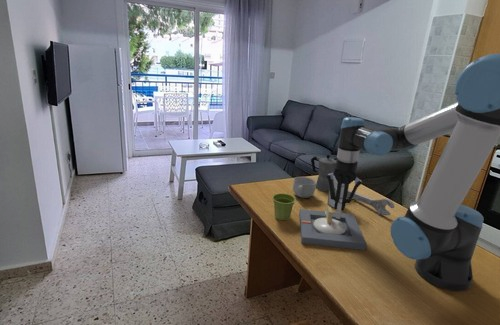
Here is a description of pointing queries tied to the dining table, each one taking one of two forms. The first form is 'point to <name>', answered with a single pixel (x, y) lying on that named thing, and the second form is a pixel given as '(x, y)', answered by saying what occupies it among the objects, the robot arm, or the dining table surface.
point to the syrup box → (330, 201)
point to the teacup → (304, 187)
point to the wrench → (374, 203)
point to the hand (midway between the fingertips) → (338, 216)
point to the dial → (329, 224)
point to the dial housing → (347, 240)
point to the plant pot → (283, 205)
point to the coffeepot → (323, 171)
